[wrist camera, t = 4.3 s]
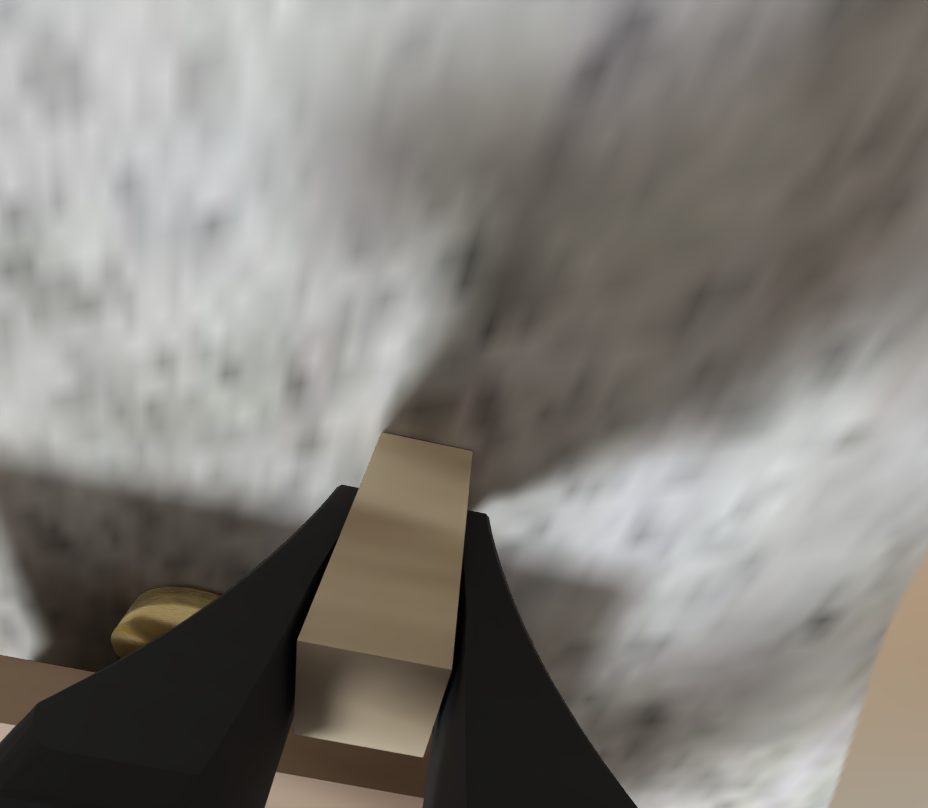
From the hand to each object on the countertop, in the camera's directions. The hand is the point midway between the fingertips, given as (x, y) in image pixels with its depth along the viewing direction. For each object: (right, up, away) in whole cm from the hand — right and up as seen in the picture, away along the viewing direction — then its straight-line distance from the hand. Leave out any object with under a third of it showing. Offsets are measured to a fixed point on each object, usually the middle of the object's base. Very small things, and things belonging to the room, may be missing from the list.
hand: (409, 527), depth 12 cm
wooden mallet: (-1, -3, +4) cm, 5 cm away
